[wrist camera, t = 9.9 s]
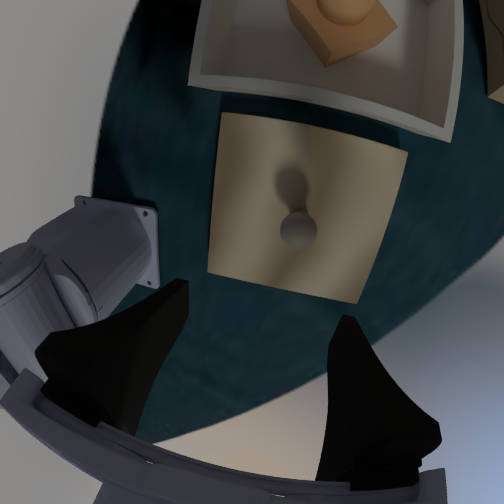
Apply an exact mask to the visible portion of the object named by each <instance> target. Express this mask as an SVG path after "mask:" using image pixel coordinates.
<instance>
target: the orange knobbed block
mask: <svg viewBox="0 0 504 504" xmlns="http://www.w3.org/2000/svg"><path fill="white" fill-rule="evenodd" d="M286 2H287V6H288V11H289V15H290V20H291V22H292V23H293V25H294V26H295V27H296V28H297V30H298V31H299V32H300V33H301V35H302V36H303V37H304V39H305V40H306V41H307V43H308V44H309V45H310V47H311V48H312V50H313V51H314V52H315V54H316V55H317V57H318V58H319V60H320V61H321V62H322V64H323V65H324V67H325V68H327V67H329V66H331V65H333V64H335V63H337V62H340V61H342V60H344V59H346V58H349V57H351V56H353V55H356V54H358V53H361V52H363V51H365V50H368V49H371V48H373V47H376V46H377V45H378V44H380V43H381V42H382V41H383V40H384V39H385V38H386V37H387V36H388V35H389V34H391V33H392V32H393V31H394V30H395V29H396V28H397V27H398V26H397V24H396V23H395V22H394V20H393V19H392V17H391V16H390V15H389V13H388V12H387V11H386V9H385V8H384V7H383V5H382V4H381V3H380V1H379V0H286Z"/></svg>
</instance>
